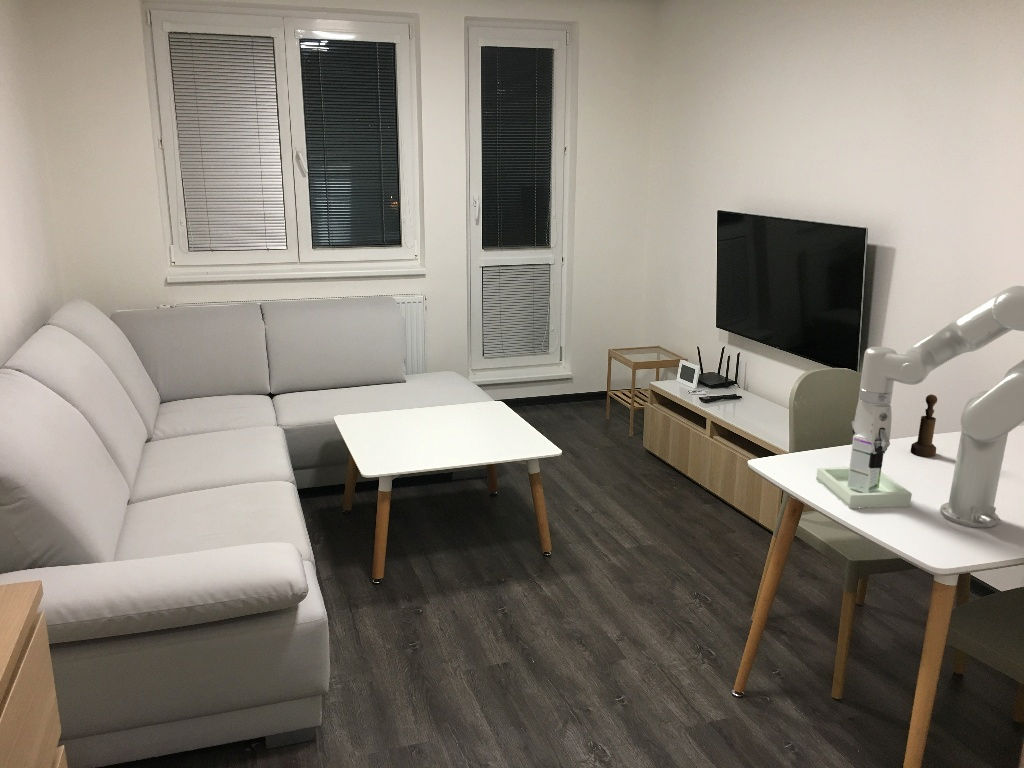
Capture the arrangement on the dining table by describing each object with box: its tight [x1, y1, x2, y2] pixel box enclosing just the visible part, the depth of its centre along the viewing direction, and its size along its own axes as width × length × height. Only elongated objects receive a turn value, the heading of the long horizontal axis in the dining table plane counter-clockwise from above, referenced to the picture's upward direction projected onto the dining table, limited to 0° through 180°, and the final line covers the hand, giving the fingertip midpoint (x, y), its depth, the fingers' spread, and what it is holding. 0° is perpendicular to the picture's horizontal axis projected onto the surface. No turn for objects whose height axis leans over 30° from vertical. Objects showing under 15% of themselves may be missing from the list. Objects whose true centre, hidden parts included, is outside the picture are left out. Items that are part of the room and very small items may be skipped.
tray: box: [815, 466, 913, 509], centre depth 213 cm, size 18×16×4 cm
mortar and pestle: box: [910, 394, 938, 458], centre depth 239 cm, size 7×6×18 cm
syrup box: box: [847, 434, 882, 493], centre depth 211 cm, size 6×6×14 cm
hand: (866, 461), depth 211 cm, fingers open, 7 cm apart
